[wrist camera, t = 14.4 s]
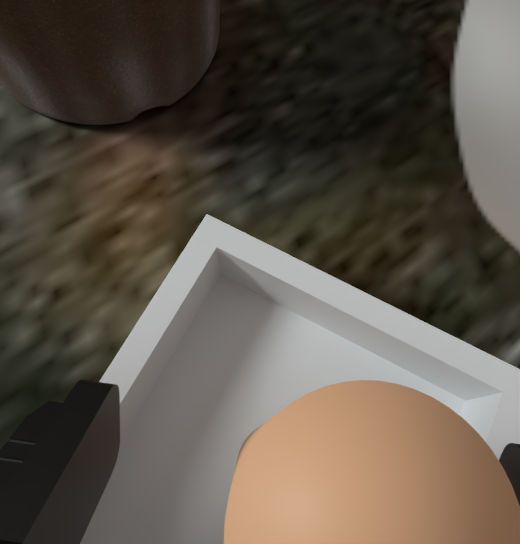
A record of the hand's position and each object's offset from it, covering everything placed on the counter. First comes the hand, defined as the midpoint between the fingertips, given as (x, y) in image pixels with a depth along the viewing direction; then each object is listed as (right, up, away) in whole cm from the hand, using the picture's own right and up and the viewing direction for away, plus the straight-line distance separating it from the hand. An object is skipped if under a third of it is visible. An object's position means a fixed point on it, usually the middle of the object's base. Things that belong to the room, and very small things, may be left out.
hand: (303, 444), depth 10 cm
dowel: (0, -4, +8) cm, 9 cm away
